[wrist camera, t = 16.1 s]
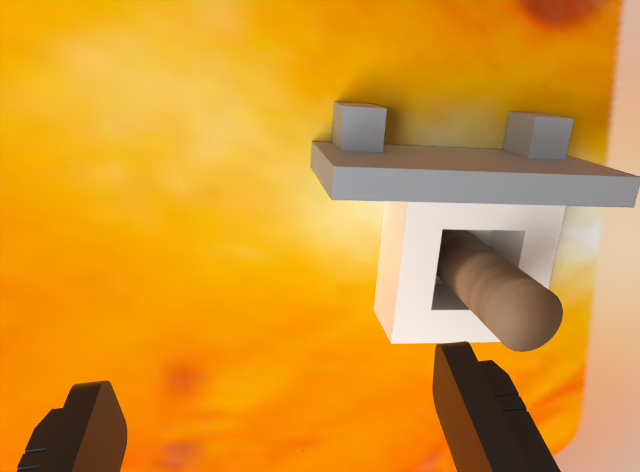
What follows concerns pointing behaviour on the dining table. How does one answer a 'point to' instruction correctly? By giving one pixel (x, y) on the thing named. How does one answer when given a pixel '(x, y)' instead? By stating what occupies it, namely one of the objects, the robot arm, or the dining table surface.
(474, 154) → the backstop
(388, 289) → the socket
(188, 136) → the dining table surface
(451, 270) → the dowel
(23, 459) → the robot arm
